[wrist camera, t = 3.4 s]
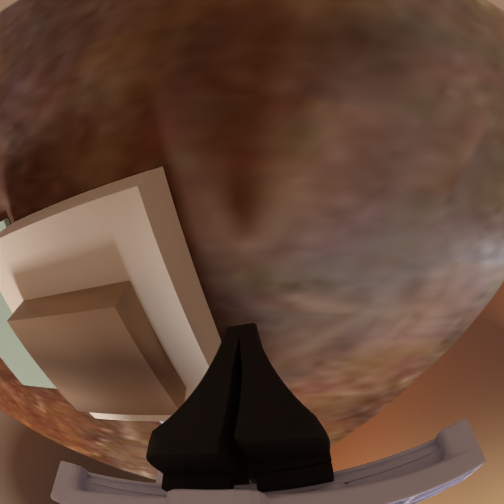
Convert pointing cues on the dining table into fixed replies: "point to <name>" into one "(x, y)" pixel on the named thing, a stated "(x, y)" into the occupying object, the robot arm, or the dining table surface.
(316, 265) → the dining table surface
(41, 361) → the walnut tile
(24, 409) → the dining table surface
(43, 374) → the mat
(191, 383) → the cream flat block
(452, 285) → the dining table surface
